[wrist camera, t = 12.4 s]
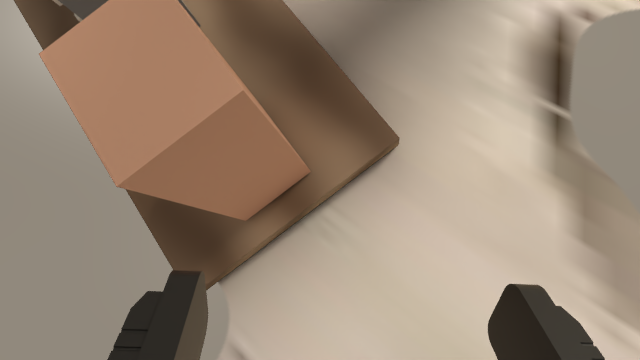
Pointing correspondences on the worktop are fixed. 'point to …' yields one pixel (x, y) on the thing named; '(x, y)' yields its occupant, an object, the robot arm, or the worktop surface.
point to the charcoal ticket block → (84, 3)
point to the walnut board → (282, 107)
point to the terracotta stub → (170, 110)
